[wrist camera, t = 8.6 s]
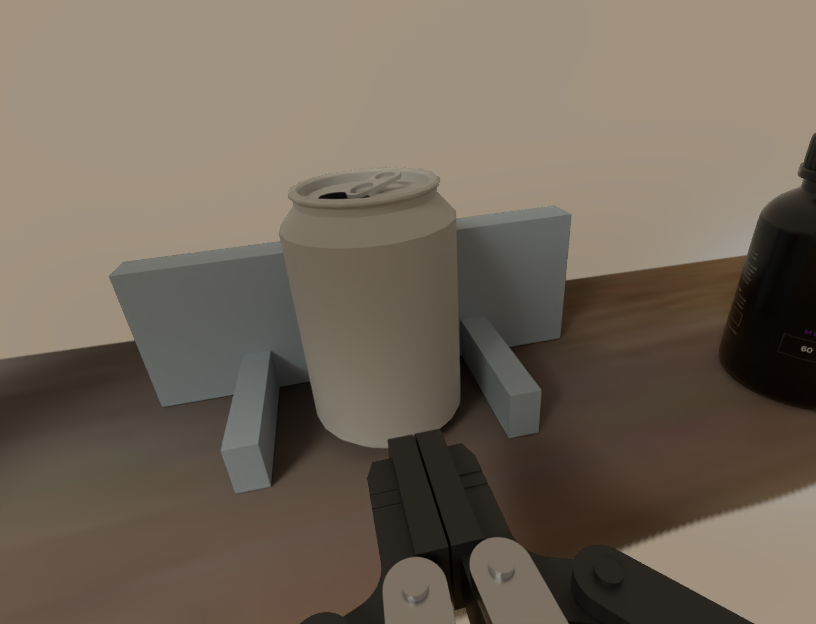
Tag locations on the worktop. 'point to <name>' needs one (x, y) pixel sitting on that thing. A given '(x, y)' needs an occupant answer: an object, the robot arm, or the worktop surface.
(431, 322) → the can
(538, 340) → the stop bay
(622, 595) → the robot arm
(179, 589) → the worktop surface
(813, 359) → the supplement bottle
